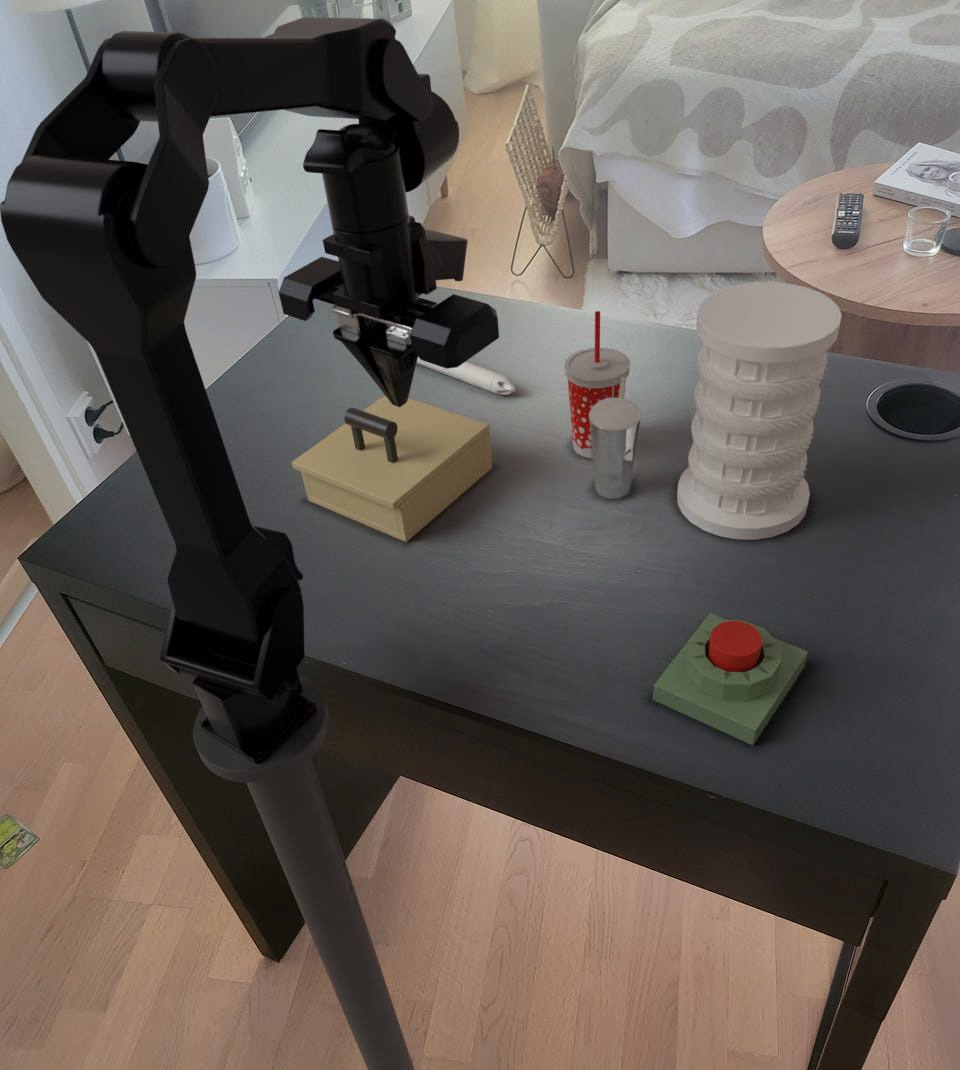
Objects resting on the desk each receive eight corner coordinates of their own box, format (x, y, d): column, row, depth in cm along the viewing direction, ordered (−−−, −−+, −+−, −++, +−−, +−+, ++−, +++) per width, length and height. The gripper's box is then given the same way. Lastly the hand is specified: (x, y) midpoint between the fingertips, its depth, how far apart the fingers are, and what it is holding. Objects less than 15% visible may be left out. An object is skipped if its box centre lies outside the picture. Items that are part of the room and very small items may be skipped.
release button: (745, 680, 67) (748, 663, 66) (699, 660, 69) (701, 643, 68) (767, 649, 69) (771, 632, 68) (722, 631, 71) (724, 613, 69)
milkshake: (644, 473, 91) (649, 379, 83) (631, 506, 87) (635, 411, 80) (597, 467, 92) (598, 374, 85) (583, 499, 88) (583, 405, 81)
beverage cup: (607, 422, 97) (609, 290, 87) (639, 451, 93) (645, 316, 83) (554, 440, 96) (551, 308, 86) (584, 470, 92) (584, 335, 82)
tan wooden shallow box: (406, 542, 86) (399, 505, 83) (308, 500, 92) (298, 464, 89) (492, 467, 93) (489, 431, 90) (396, 433, 99) (390, 397, 96)
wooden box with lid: (394, 509, 83) (385, 463, 79) (292, 468, 88) (281, 423, 85) (489, 430, 90) (485, 385, 87) (390, 397, 96) (383, 353, 93)
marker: (522, 394, 102) (521, 375, 101) (509, 403, 101) (508, 383, 100) (403, 350, 111) (400, 331, 110) (391, 357, 110) (388, 338, 109)
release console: (753, 745, 67) (759, 713, 64) (652, 700, 71) (654, 667, 68) (804, 666, 72) (812, 634, 69) (708, 627, 75) (712, 595, 73)
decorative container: (835, 507, 85) (880, 317, 72) (735, 557, 81) (764, 366, 68) (746, 449, 92) (772, 267, 79) (650, 492, 88) (662, 308, 76)
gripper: (537, 200, 69) (544, 390, 80) (353, 161, 78) (382, 336, 89) (440, 259, 64) (462, 454, 75) (253, 210, 73) (298, 391, 84)
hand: (400, 403), depth 81 cm, fingers closed
